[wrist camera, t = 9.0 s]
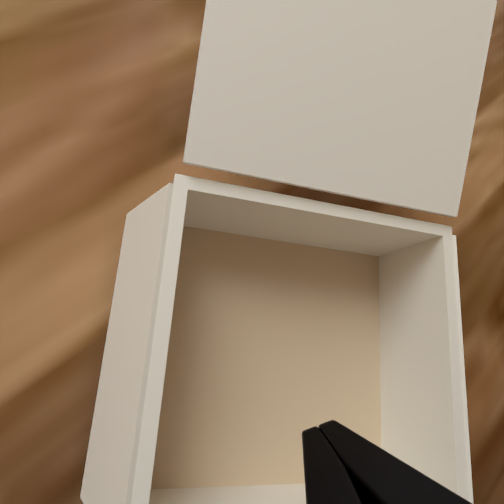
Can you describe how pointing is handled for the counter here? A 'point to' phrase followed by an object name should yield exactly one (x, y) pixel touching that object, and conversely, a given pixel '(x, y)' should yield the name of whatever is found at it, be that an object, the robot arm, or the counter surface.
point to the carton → (273, 347)
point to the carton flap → (342, 95)
